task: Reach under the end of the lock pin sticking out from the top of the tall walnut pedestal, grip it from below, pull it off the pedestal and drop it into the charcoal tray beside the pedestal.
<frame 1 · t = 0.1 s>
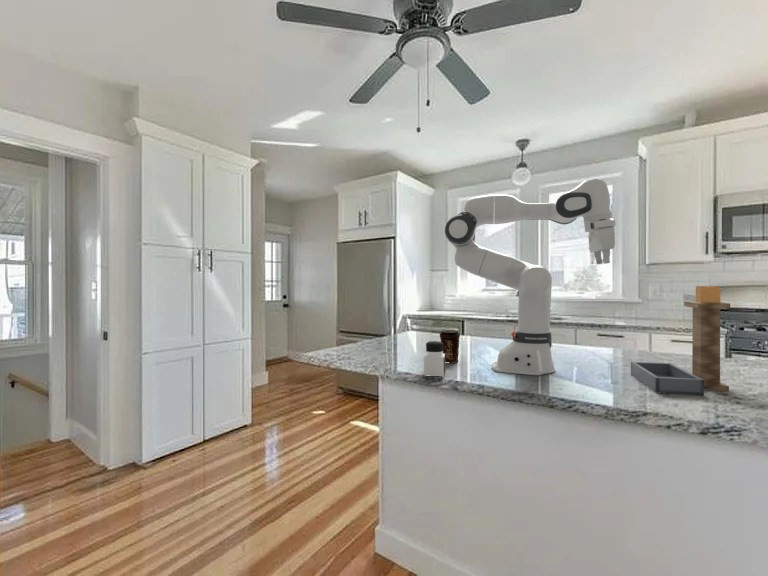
hand: (602, 263, 138), 39 cm above the countertop, tool pointing down, fingers open, 8 cm apart
lock pin: (698, 301, 125), point 26 cm above the countertop, touching pedestal
pedestal: (705, 386, 120), on the countertop
tray: (663, 384, 124), on the countertop
medicine bottle: (434, 375, 141), on the countertop
coffee cup: (450, 362, 161), on the countertop
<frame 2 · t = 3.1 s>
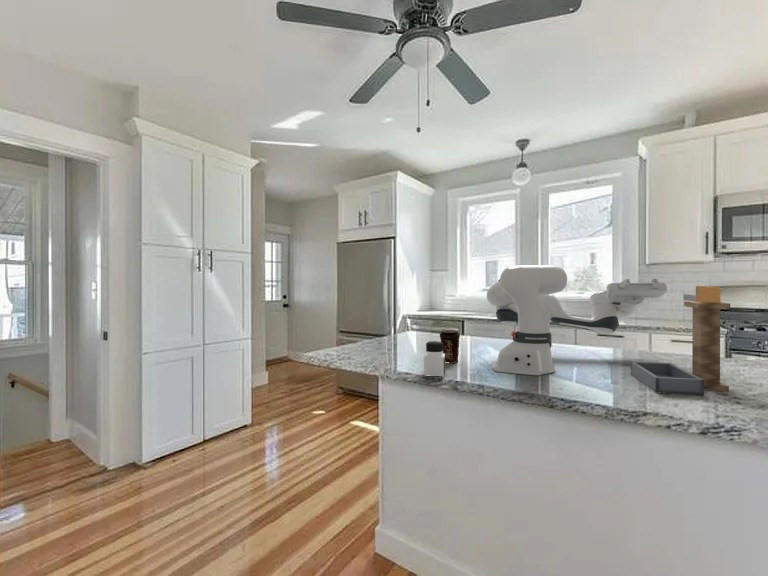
hand: (641, 280, 149), 33 cm above the countertop, tool pointing upward, fingers open, 8 cm apart
nothing on the countertop moved.
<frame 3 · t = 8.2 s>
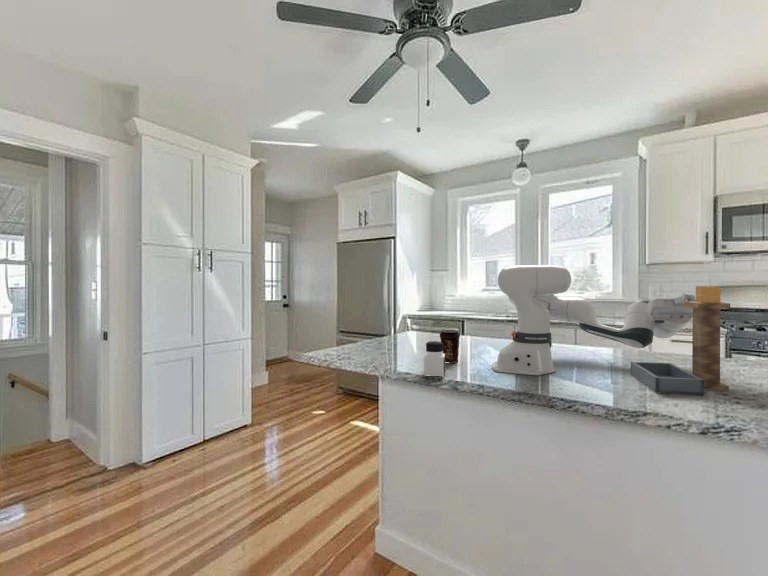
hand: (692, 296, 128), 27 cm above the countertop, tool pointing upward, fingers closed on lock pin
lock pin: (698, 301, 125), point 26 cm above the countertop, touching gripper, pedestal
everything else where it was.
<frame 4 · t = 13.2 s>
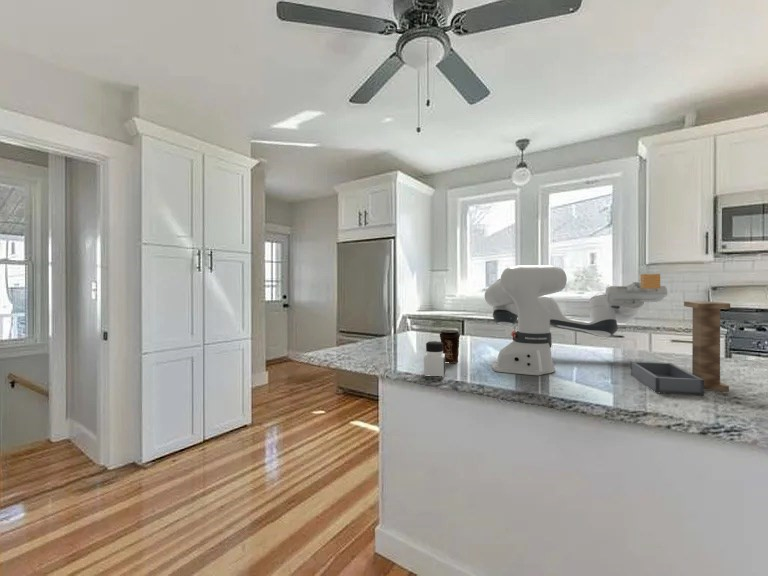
hand: (640, 283, 146), 31 cm above the countertop, tool pointing upward, fingers closed on lock pin
lock pin: (644, 287, 142), point 30 cm above the countertop, touching gripper
everything else where it was.
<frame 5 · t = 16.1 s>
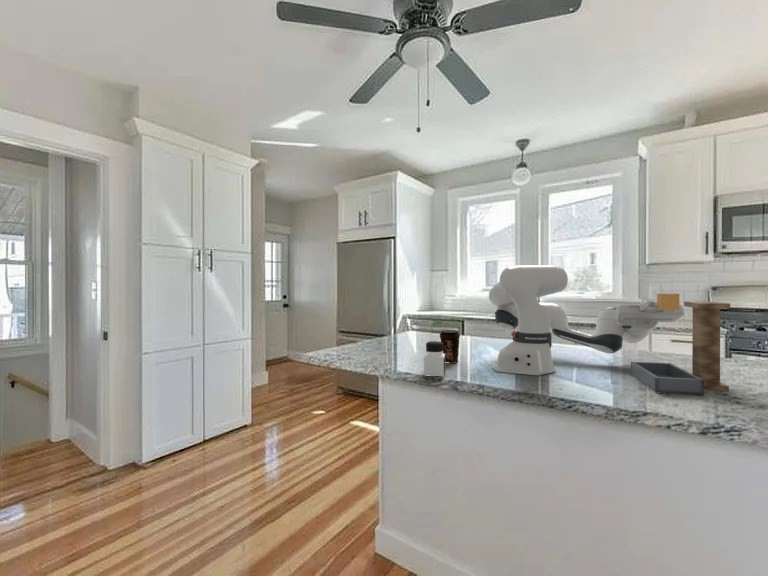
hand: (655, 302, 133), 25 cm above the countertop, tool pointing upward, fingers closed on lock pin
lock pin: (660, 307, 130), point 24 cm above the countertop, touching gripper
everything else where it was.
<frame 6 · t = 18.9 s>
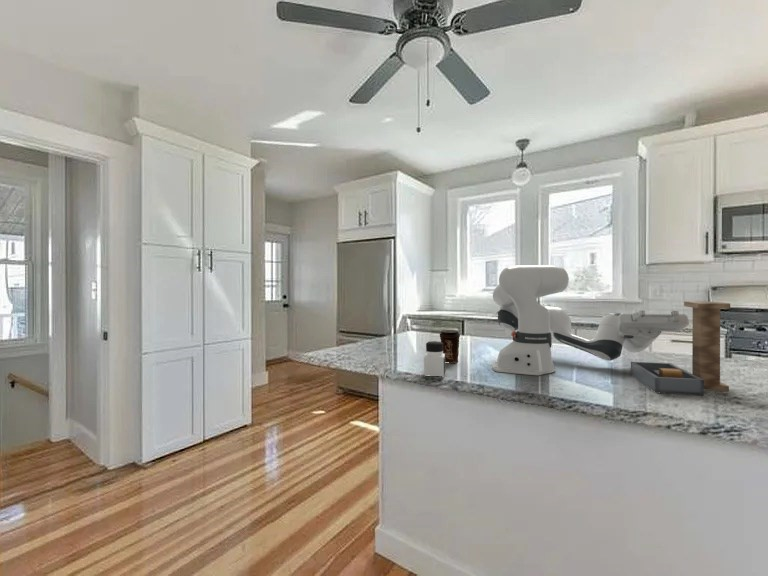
hand: (659, 312, 127), 22 cm above the countertop, tool pointing upward, fingers open, 8 cm apart
lock pin: (662, 380, 125), point 1 cm above the countertop, touching tray
everything else where it was.
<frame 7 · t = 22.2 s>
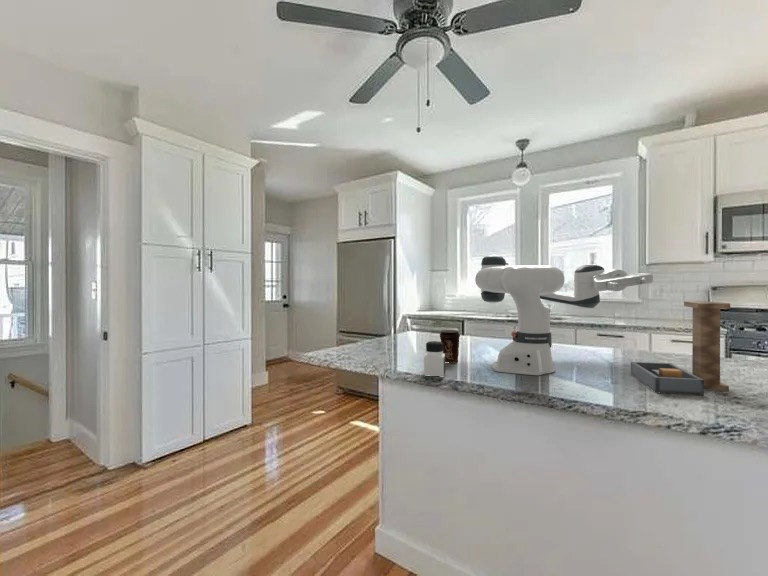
hand: (630, 283, 147), 31 cm above the countertop, tool horizontal, fingers open, 8 cm apart
nothing on the countertop moved.
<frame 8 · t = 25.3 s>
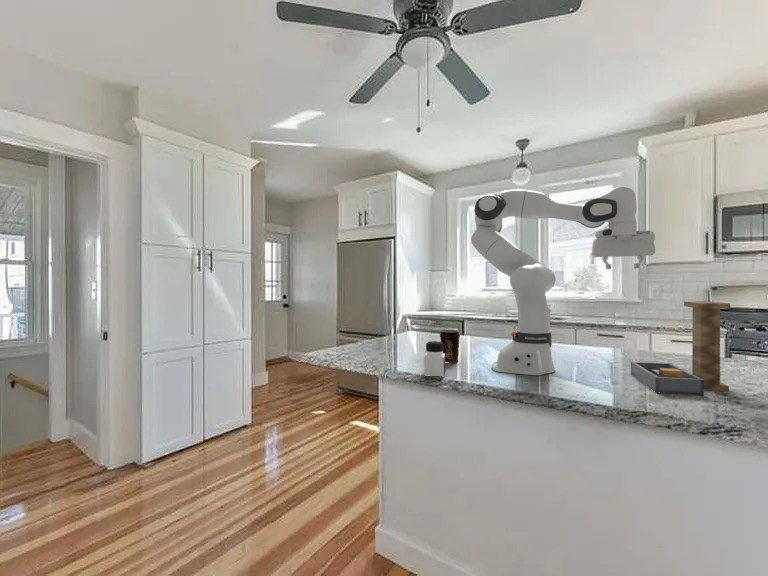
hand: (622, 268, 146), 37 cm above the countertop, tool pointing down, fingers open, 8 cm apart
nothing on the countertop moved.
at the end: lock pin inside the target area on the tray (0.9 cm from its centre), point 0.8 cm above the tray's base; the gripper is holding nothing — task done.
